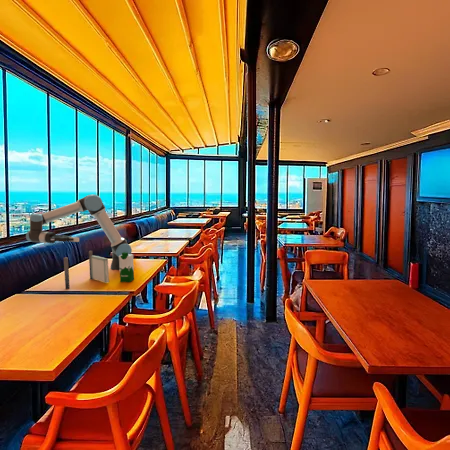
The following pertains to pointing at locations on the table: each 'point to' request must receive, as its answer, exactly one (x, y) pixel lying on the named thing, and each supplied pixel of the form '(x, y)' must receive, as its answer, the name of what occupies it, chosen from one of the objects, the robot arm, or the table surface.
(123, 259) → the milk carton
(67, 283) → the posts
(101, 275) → the beige framed panel
